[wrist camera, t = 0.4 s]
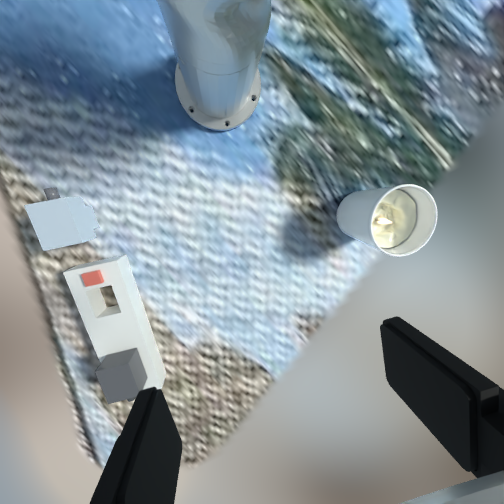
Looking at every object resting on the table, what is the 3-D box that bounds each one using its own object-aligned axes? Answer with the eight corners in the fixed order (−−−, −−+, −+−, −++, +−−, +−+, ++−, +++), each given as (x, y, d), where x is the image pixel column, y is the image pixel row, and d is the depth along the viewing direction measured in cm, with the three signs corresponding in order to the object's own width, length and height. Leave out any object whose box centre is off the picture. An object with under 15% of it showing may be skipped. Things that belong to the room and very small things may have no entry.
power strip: (77, 264, 42) (59, 274, 37) (126, 254, 42) (114, 261, 38) (124, 383, 48) (113, 404, 43) (166, 372, 48) (160, 392, 44)
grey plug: (59, 192, 39) (18, 192, 31) (92, 186, 39) (60, 184, 31) (77, 239, 41) (43, 251, 33) (109, 233, 41) (82, 242, 33)
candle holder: (342, 249, 47) (381, 268, 35) (324, 200, 44) (360, 203, 33) (389, 227, 47) (444, 238, 35) (374, 177, 44) (428, 171, 33)
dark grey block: (116, 340, 46) (94, 371, 38) (144, 333, 46) (128, 363, 38) (130, 375, 47) (111, 412, 39) (156, 368, 48) (143, 403, 40)
